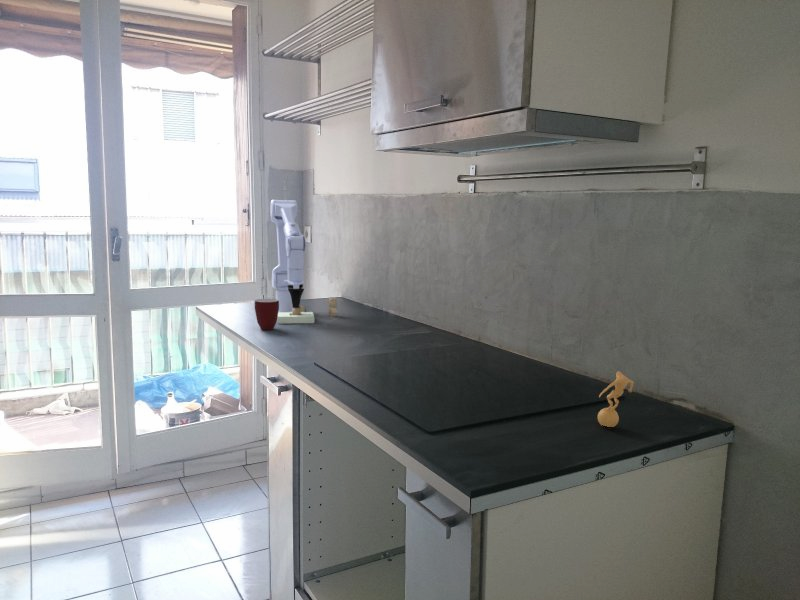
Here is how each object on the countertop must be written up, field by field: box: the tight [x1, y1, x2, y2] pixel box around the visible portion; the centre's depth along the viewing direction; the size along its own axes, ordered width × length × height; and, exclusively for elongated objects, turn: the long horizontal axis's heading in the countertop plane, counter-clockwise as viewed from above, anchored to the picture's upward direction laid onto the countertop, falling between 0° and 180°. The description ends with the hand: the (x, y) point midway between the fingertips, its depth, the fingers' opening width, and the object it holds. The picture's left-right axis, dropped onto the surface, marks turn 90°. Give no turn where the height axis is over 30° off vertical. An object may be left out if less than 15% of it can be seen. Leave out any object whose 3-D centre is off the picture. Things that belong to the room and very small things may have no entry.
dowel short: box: [300, 305, 306, 312], centre depth 233 cm, size 3×3×4 cm
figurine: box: [597, 370, 635, 428], centre depth 119 cm, size 8×6×12 cm
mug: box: [254, 298, 279, 331], centre depth 208 cm, size 11×8×10 cm
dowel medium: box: [292, 305, 302, 315], centre depth 223 cm, size 3×3×6 cm
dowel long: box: [328, 297, 338, 318], centre depth 235 cm, size 3×3×7 cm
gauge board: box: [277, 311, 315, 325], centre depth 223 cm, size 9×13×2 cm
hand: (295, 305), depth 223 cm, fingers open, 7 cm apart
